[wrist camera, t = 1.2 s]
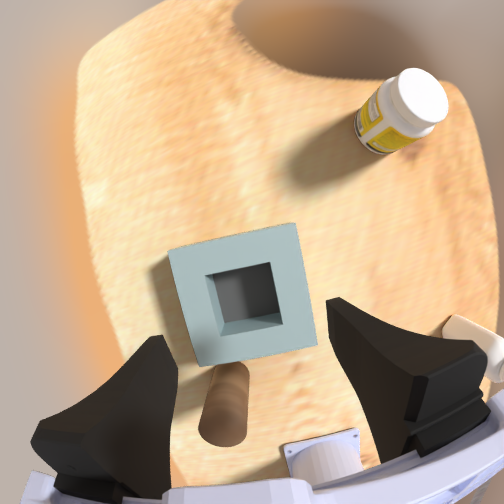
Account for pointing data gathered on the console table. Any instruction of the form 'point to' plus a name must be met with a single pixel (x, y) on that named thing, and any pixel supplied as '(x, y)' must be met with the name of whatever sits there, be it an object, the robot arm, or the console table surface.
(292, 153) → the console table surface
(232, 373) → the pin
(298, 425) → the console table surface
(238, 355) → the socket block
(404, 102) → the supplement bottle
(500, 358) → the eye dropper bottle
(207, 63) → the console table surface
